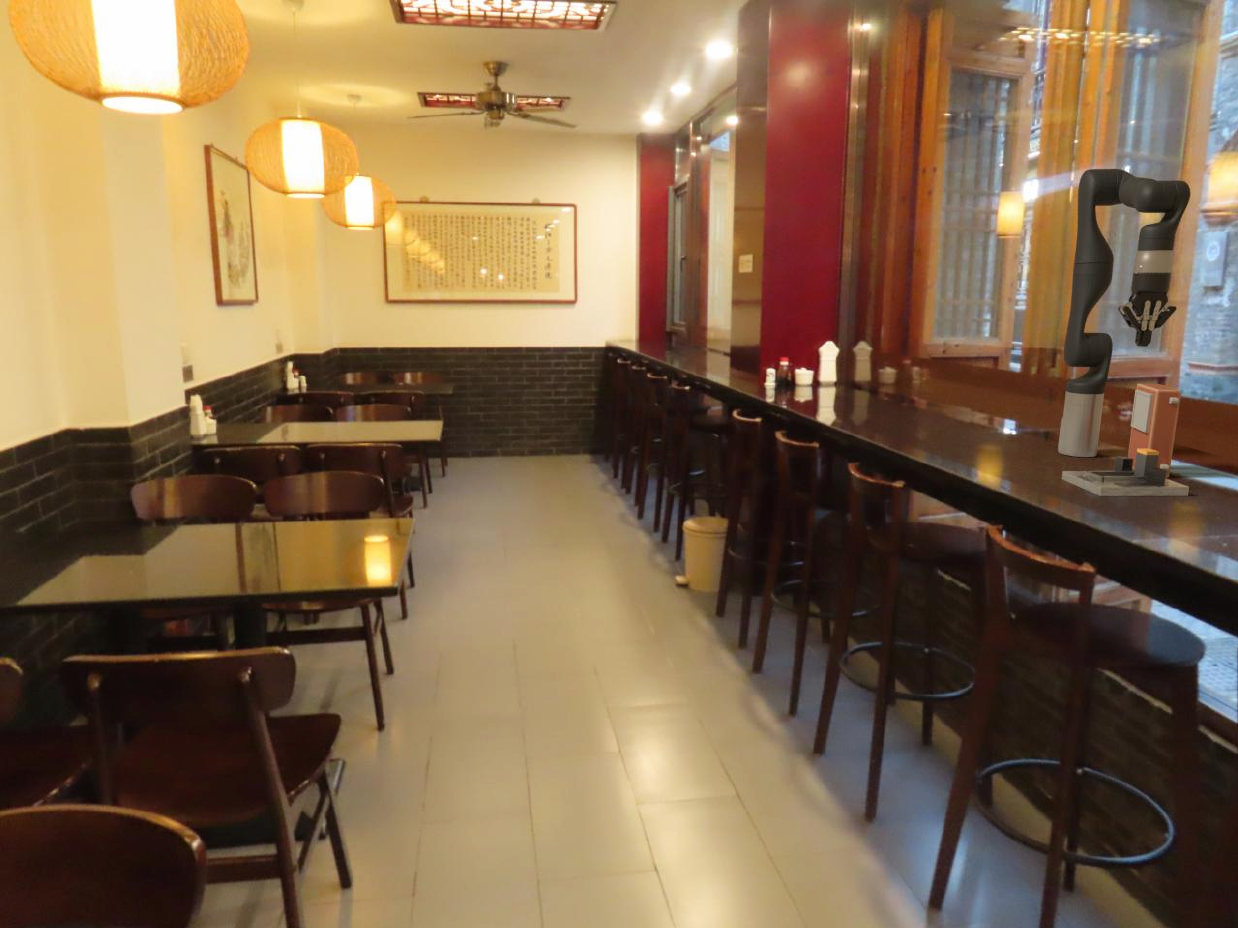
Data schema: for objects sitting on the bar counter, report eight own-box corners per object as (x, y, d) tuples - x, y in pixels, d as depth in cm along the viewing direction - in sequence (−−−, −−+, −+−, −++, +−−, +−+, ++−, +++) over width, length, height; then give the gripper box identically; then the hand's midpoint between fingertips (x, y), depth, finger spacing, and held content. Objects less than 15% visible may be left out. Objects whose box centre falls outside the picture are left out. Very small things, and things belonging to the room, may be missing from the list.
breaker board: (1061, 479, 205) (1064, 456, 204) (1143, 478, 205) (1146, 455, 204) (1099, 495, 189) (1103, 471, 188) (1187, 495, 190) (1191, 470, 188)
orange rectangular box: (1150, 465, 220) (1174, 478, 205) (1120, 464, 221) (1143, 477, 207) (1161, 383, 215) (1187, 391, 201) (1131, 382, 216) (1155, 390, 202)
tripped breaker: (1133, 474, 199) (1137, 448, 197) (1145, 474, 199) (1149, 448, 197) (1143, 478, 195) (1147, 451, 194) (1155, 478, 195) (1159, 451, 194)
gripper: (1169, 271, 199) (1159, 345, 203) (1114, 271, 199) (1105, 345, 203) (1191, 271, 192) (1180, 347, 196) (1134, 271, 192) (1123, 348, 195)
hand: (1141, 346), depth 199 cm, fingers closed
